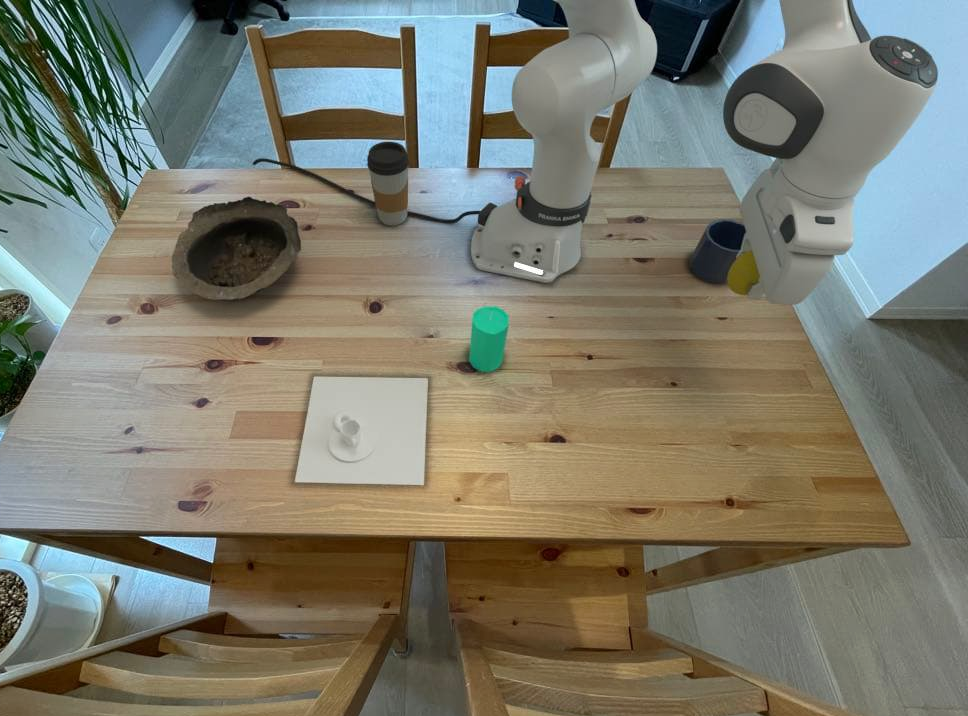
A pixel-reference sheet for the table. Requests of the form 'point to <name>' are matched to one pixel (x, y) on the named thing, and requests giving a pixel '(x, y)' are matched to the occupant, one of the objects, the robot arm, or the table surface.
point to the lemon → (743, 273)
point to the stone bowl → (235, 248)
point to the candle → (488, 338)
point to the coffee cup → (389, 181)
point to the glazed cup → (717, 250)
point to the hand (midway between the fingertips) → (746, 278)
